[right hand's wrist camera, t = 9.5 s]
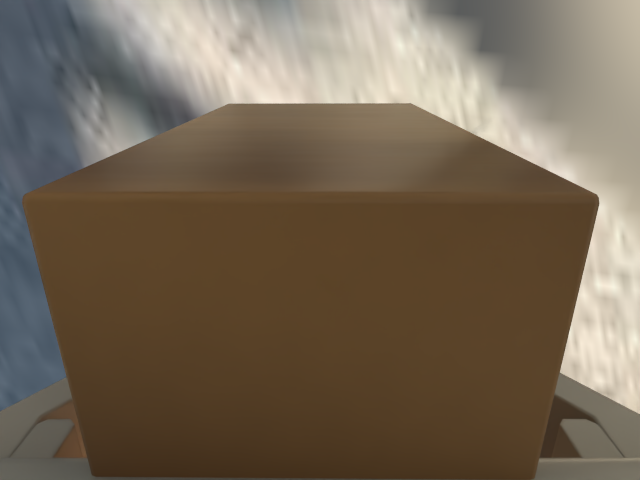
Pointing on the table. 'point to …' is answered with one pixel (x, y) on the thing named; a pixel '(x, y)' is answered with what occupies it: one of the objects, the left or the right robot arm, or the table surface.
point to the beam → (312, 297)
